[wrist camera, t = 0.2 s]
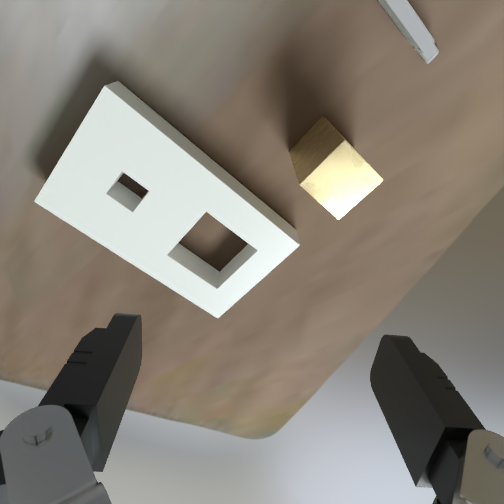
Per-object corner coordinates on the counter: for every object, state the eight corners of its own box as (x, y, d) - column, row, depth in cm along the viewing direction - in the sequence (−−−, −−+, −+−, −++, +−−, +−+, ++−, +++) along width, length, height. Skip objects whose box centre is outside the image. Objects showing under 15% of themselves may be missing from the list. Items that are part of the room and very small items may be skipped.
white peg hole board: (118, 80, 27) (104, 85, 25) (296, 229, 34) (299, 245, 32) (51, 188, 32) (34, 201, 30) (220, 300, 39) (217, 318, 37)
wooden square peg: (323, 115, 29) (345, 139, 22) (354, 147, 30) (383, 180, 23) (288, 151, 30) (299, 184, 24) (319, 180, 32) (338, 220, 25)
